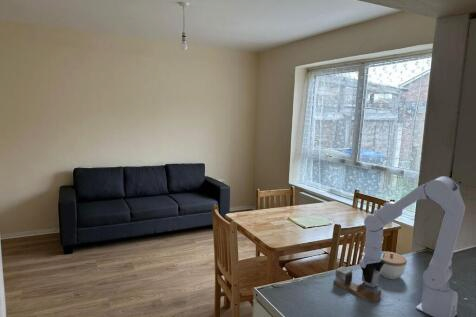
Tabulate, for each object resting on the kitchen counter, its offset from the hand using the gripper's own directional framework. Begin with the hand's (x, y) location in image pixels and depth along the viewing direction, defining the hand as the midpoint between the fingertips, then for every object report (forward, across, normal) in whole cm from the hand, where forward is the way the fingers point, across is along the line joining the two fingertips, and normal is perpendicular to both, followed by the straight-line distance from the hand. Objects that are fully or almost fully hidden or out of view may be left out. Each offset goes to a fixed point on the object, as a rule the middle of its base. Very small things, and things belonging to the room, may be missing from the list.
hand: (370, 279), depth 120 cm
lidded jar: (+2, -13, +1) cm, 13 cm away
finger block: (+2, 0, 0) cm, 2 cm away
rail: (+2, +8, -1) cm, 8 cm away
